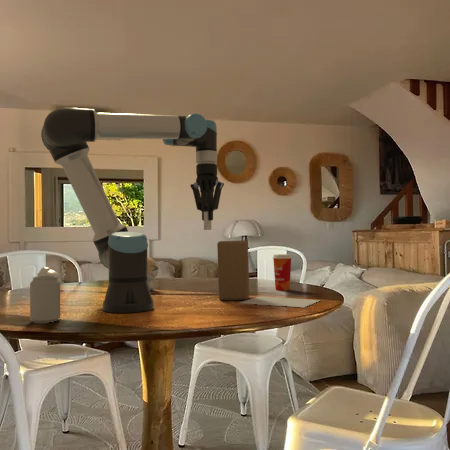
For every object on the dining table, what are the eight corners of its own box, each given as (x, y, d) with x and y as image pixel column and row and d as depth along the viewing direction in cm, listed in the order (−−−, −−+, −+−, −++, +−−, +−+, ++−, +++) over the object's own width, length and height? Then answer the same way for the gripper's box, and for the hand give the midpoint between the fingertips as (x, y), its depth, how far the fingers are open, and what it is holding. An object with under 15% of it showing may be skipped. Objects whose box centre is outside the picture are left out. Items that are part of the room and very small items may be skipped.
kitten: (155, 293, 182) (155, 254, 182) (129, 293, 182) (129, 254, 182) (160, 288, 197) (160, 252, 197) (136, 288, 197) (136, 252, 197)
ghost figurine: (41, 290, 194) (41, 266, 194) (64, 290, 194) (64, 265, 194) (31, 293, 185) (31, 267, 185) (55, 293, 185) (55, 267, 185)
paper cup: (269, 289, 191) (269, 254, 191) (287, 288, 193) (286, 254, 193) (277, 291, 183) (277, 255, 184) (295, 290, 186) (295, 254, 186)
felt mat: (303, 308, 143) (303, 307, 143) (239, 303, 154) (239, 302, 154) (320, 301, 157) (320, 300, 157) (260, 297, 168) (260, 296, 168)
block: (249, 296, 168) (248, 240, 169) (248, 300, 158) (246, 240, 159) (221, 297, 169) (220, 241, 170) (218, 300, 159) (216, 241, 160)
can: (63, 318, 130) (63, 274, 130) (55, 323, 122) (54, 277, 123) (36, 318, 130) (36, 275, 130) (25, 324, 122) (25, 277, 122)
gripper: (227, 163, 170) (228, 229, 170) (197, 166, 176) (198, 230, 176) (217, 161, 163) (218, 229, 163) (185, 164, 170) (186, 230, 170)
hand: (207, 229), depth 170 cm, fingers closed
